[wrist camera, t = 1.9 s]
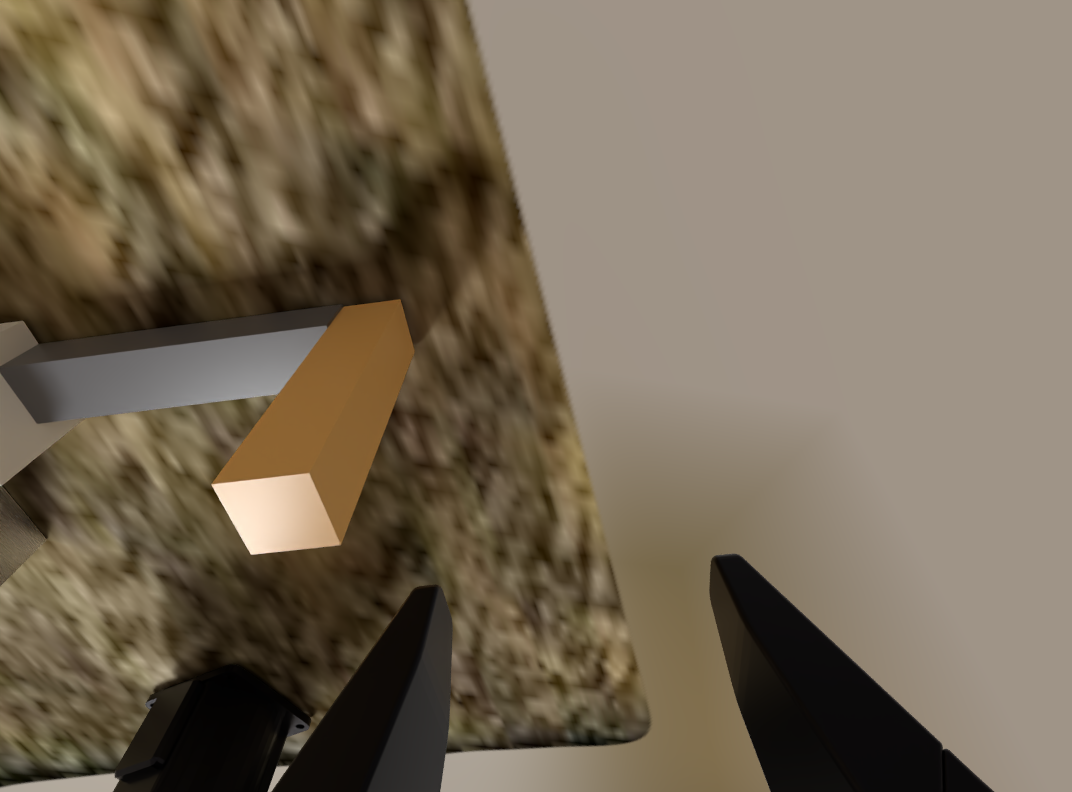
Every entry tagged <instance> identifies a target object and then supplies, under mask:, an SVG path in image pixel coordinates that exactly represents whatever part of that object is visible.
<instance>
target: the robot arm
mask: <svg viewBox="0 0 1072 792" xmlns="http://www.w3.org/2000/svg"><path fill="white" fill-rule="evenodd" d="M710 600H711V605H712V608H713V612H714V616H715V620H716V624H717V628H718V632H719V636H720V640H721V643H722V647H723V651H724V655H725V659H726V663H727V667H728V670H729V674H730V678H731V682H732V686H733V689H734V693H735V696H736V700H737V703H738V706H739V708H740V711H741V714H742V717H743V720H744V722H745V725H746V728H747V730H748V733H749V736H750V738H751V741H752V743H753V746H754V749H755V751H756V754H757V757H758V759H759V762H760V765H761V767H762V770H763V772H764V775H765V778H766V781H767V783H768V786H769V789H770V791H771V792H994V791H993V790H992V789H991V788H989V787H988V786H987V785H986V784H985V783H984V782H983V781H982V780H980V778H978V777H977V776H976V775H975V774H974V773H973V772H972V771H971V770H970V769H969V768H968V767H967V766H965V765H964V764H963V763H962V762H961V761H960V760H959V759H958V758H957V757H956V756H955V755H954V754H953V753H952V752H951V751H950V750H948V749H944V750H943V747H942V744H941V742H940V741H938V740H937V739H936V738H935V737H934V736H933V735H932V734H931V733H930V732H929V731H928V730H927V729H926V728H924V726H922V725H921V724H920V723H919V722H918V721H917V720H916V719H915V718H914V717H913V716H912V715H911V714H909V712H907V711H906V710H905V709H904V708H903V707H902V706H901V705H900V704H899V703H898V702H897V701H896V700H895V699H893V698H892V697H891V696H890V695H889V694H888V693H887V692H886V691H885V690H884V689H883V688H882V687H881V686H880V685H878V684H877V683H876V682H875V681H874V680H873V679H872V678H871V677H870V676H869V675H868V674H867V673H866V672H865V671H864V670H862V669H861V668H860V667H859V666H858V665H857V664H856V663H855V662H854V661H853V660H852V659H851V658H850V657H849V656H847V655H846V654H845V653H844V652H843V651H842V650H841V649H840V648H839V647H838V646H837V645H836V644H835V643H834V642H833V641H831V640H830V639H829V638H828V637H827V636H826V635H825V634H824V633H823V632H822V631H821V630H819V628H817V627H816V626H815V625H814V624H813V623H812V622H811V621H810V620H809V619H808V618H807V617H806V616H805V615H804V614H803V613H801V612H800V611H799V610H798V609H797V608H796V607H795V606H794V605H793V604H792V603H791V602H790V601H789V600H787V598H785V597H784V596H783V595H782V594H781V593H780V592H779V591H778V590H777V589H776V588H775V587H774V586H772V585H771V584H770V583H769V582H768V581H767V580H766V579H765V578H764V577H763V576H762V575H761V574H760V573H759V572H758V571H756V570H755V569H754V568H753V567H752V566H751V565H750V564H749V563H748V562H747V561H746V560H745V559H744V558H743V557H741V556H740V555H737V554H725V555H716V556H714V557H713V558H712V560H711V570H710ZM451 659H452V618H451V614H450V611H449V608H448V605H447V602H446V599H445V596H444V593H443V590H442V588H441V587H440V586H439V585H427V586H419V587H416V588H415V589H414V590H413V591H412V592H411V593H410V595H409V596H408V597H407V599H406V600H405V602H404V603H403V605H402V606H401V607H400V609H399V610H398V612H397V613H396V615H395V616H394V617H393V619H392V620H391V622H390V623H389V625H388V626H387V627H386V629H385V630H384V632H383V633H382V635H381V636H380V637H379V639H378V640H377V642H376V643H375V645H374V646H373V647H372V649H371V650H370V652H369V653H368V655H367V656H366V657H365V659H364V660H363V662H362V663H361V665H360V666H359V667H358V669H357V670H356V672H355V673H354V675H353V676H352V677H351V679H350V680H349V682H348V683H347V685H346V686H345V687H344V689H343V690H342V692H341V693H340V695H339V696H338V697H337V699H336V700H335V702H334V703H333V705H332V706H331V707H330V709H329V710H328V712H327V713H326V715H325V716H324V717H323V719H322V720H321V722H320V723H319V725H318V726H317V727H316V729H315V730H314V732H313V733H312V735H311V736H310V737H309V739H308V740H307V742H306V743H305V745H304V746H303V747H302V749H301V750H300V752H299V753H298V755H297V756H296V757H295V759H294V760H293V762H292V763H291V765H290V766H289V767H288V769H287V770H286V772H285V773H284V774H283V776H282V777H281V779H280V781H279V782H278V783H277V784H276V786H275V787H274V789H273V791H272V792H440V789H441V782H442V774H443V768H444V761H445V753H446V746H447V738H448V730H449V714H450V688H451ZM145 705H146V707H147V708H149V709H150V711H149V713H148V714H147V716H146V718H145V720H144V721H143V723H142V725H141V727H140V728H139V730H138V732H137V733H136V735H135V737H134V739H133V740H132V742H131V744H130V746H129V747H128V749H127V751H126V752H125V754H124V756H123V758H122V759H121V761H120V763H119V765H118V766H117V768H116V770H115V778H117V779H119V782H118V784H117V786H116V787H115V789H114V791H113V792H268V789H269V786H270V783H271V780H272V778H273V775H274V772H275V769H276V766H277V763H278V761H279V758H280V755H281V752H282V749H283V746H284V744H285V741H286V738H287V737H288V736H291V735H294V734H297V733H300V732H303V731H306V730H308V729H309V726H310V723H311V718H310V717H308V716H307V715H306V714H304V713H303V712H302V711H300V710H299V709H298V708H296V707H295V706H294V705H292V704H291V703H289V702H288V701H287V700H285V699H284V698H283V697H281V696H280V695H279V694H277V693H276V692H275V691H273V690H272V689H271V688H269V687H268V686H266V685H265V684H264V683H262V682H261V681H260V680H258V679H257V678H256V677H254V676H253V675H252V674H250V673H249V672H247V671H246V670H245V669H243V668H242V667H240V666H238V665H227V666H225V667H222V668H220V669H217V670H214V671H212V672H209V673H206V674H204V675H201V676H199V677H196V678H193V679H191V680H188V681H186V682H183V683H180V684H178V685H175V686H173V687H170V688H167V689H165V690H162V691H160V692H157V693H154V694H152V695H150V697H149V699H148V700H147V702H146V704H145Z"/></svg>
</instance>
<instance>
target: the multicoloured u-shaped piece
mask: <svg viewBox="0 0 1072 792" xmlns="http://www.w3.org/2000/svg"><path fill="white" fill-rule="evenodd" d="M414 352H415V351H414V347H413V343H412V340H411V336H410V332H409V329H408V325H407V321H406V318H405V314H404V310H403V307H402V303H401V299H399V300H391V301H383V302H376V303H368V304H360V305H353V306H345V307H343V304H339V305H331V306H324V307H316V308H309V309H301V310H293V311H286V312H278V313H271V314H263V315H255V316H248V317H240V318H233V319H225V320H217V321H210V322H202V323H195V324H187V325H179V326H172V327H164V328H157V329H149V330H142V331H134V332H126V333H119V334H111V335H104V336H96V337H88V338H81V339H73V340H66V341H58V342H50V343H43V344H38V342H37V341H36V339H35V338H34V336H33V335H32V333H31V332H30V330H29V329H28V327H27V326H26V324H25V323H24V321H16V322H9V323H2V324H0V486H2V485H3V484H5V483H6V482H7V481H8V480H10V479H11V478H12V477H13V476H14V475H16V474H17V473H18V472H19V471H21V470H22V469H23V468H24V467H26V466H27V465H28V464H29V463H31V462H32V461H33V460H34V459H36V458H37V457H38V456H39V455H40V454H42V453H43V452H44V451H45V450H47V449H48V448H49V447H50V446H52V445H53V444H54V443H55V442H57V441H58V440H59V439H60V438H62V437H63V436H64V435H65V434H66V433H68V432H69V431H70V430H71V429H73V428H74V427H75V426H76V425H78V424H79V423H80V422H81V421H83V420H84V419H85V418H89V417H97V416H106V415H114V414H122V413H130V412H138V411H146V410H154V409H162V408H170V407H178V406H186V405H194V404H202V403H210V402H219V401H227V400H235V399H243V398H251V397H259V396H267V395H275V394H278V395H277V397H276V398H275V399H274V401H273V402H272V403H271V405H270V406H269V407H268V409H267V410H266V411H265V413H264V414H263V416H262V417H261V418H260V420H259V421H258V422H257V424H256V425H255V426H254V428H253V429H252V430H251V432H250V433H249V434H248V436H247V437H246V438H245V440H244V441H243V442H242V444H241V445H240V446H239V448H238V449H237V450H236V452H235V453H234V455H233V456H232V457H231V459H230V460H229V461H228V463H227V464H226V465H225V467H224V468H223V469H222V471H221V472H220V473H219V475H218V476H217V477H216V479H215V480H214V481H213V483H212V484H211V485H212V487H213V488H214V490H215V492H216V494H217V495H218V497H219V499H220V501H221V503H222V504H223V506H224V508H225V510H226V511H227V513H228V515H229V517H230V518H231V520H232V522H233V524H234V525H235V527H236V529H237V531H238V532H239V534H240V536H241V538H242V540H243V541H244V543H245V545H246V547H247V548H248V550H249V552H250V554H251V555H255V554H264V553H273V552H282V551H292V550H301V549H310V548H319V547H328V546H338V545H341V544H342V541H343V538H344V536H345V533H346V531H347V528H348V525H349V523H350V520H351V517H352V515H353V512H354V510H355V507H356V504H357V502H358V499H359V496H360V494H361V491H362V489H363V486H364V483H365V481H366V478H367V475H368V473H369V470H370V467H371V465H372V462H373V460H374V457H375V454H376V452H377V449H378V446H379V444H380V441H381V439H382V436H383V433H384V431H385V428H386V425H387V423H388V420H389V418H390V415H391V412H392V410H393V407H394V404H395V402H396V399H397V397H398V394H399V391H400V389H401V386H402V383H403V381H404V378H405V376H406V373H407V370H408V368H409V365H410V362H411V360H412V357H413V355H414Z"/></svg>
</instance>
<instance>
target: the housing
mask: <svg viewBox="0 0 1072 792" xmlns="http://www.w3.org/2000/svg"><path fill="white" fill-rule="evenodd" d="M46 540H47V539H46V538H45V537H44V536H43V534H42V533H41V532H40V531H39V530H38V528H37V527H36V526H35V525H34V524H33V522H32V521H31V520H30V519H29V518H28V516H27V515H26V514H25V513H24V511H23V510H22V509H21V508H20V507H19V505H18V504H17V503H16V502H15V501H14V499H13V498H12V497H11V496H10V495H9V493H8V492H7V491H6V490H5V488H4V487H3V486H0V586H1V585H2V584H3V583H4V582H5V581H6V580H7V579H8V578H9V577H10V576H11V575H12V574H13V573H14V572H15V571H16V570H17V569H18V568H19V567H20V566H21V565H22V564H23V563H24V562H25V561H26V560H27V559H28V558H29V557H30V556H31V555H32V554H33V553H34V552H35V551H36V550H37V549H38V548H39V547H40V546H41V545H42V544H43V543H44V542H45V541H46Z"/></svg>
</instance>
